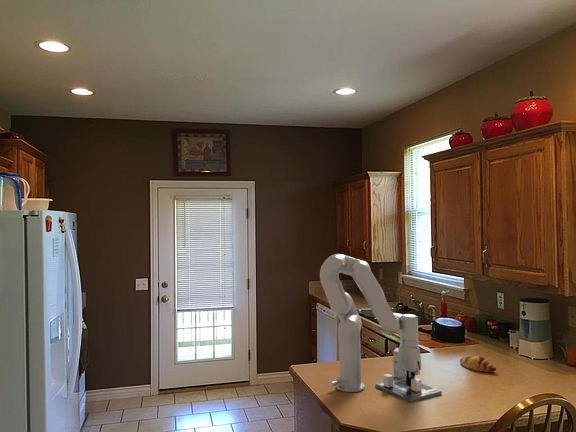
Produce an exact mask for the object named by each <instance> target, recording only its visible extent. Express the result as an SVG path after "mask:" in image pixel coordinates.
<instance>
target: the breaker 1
mask: <svg viewBox="0 0 576 432" xmlns="http://www.w3.org/2000/svg"><path fill="white" fill-rule="evenodd" d="M382 376H383V381H382V382H383V385H384V386H386V387H392V386H393V380H394V375H392V374H390V373H386V374H383V375H382Z"/></svg>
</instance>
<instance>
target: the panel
mask: <svg viewBox="0 0 576 432" xmlns="http://www.w3.org/2000/svg"><path fill="white" fill-rule="evenodd" d="M374 387H375V388H376V389H379V390H381V391H383V392H386V393H387V394H390V395H392V396H393V397H397V398H399V399H400V400H402V401H405V402H407V403H410V404H411V403H415V402H418V401H423V400H426V399H430V398H434V397H437V396H442V390H440V389H438V388H435V387H433V386H429V385H428V384H427V385H426V384H424V383H422V391H418V392H416V391H413V390H411V386H410V387H409V386H406V377H403V378H395V379H394V378H393V386H392V387H386V386H384V385H383V381H381V382H376V383H375V384H374Z"/></svg>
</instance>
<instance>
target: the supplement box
mask: <svg viewBox="0 0 576 432" xmlns="http://www.w3.org/2000/svg"><path fill="white" fill-rule="evenodd" d="M398 351H399V347H396V348H395V349H394V350H393V351H392V352H393V355H392V357H393V378H397V379H399V378H403V377H406V376H405V373H404V371H403V370H402V369H401V368H400V367H399V366H398Z"/></svg>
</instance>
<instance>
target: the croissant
mask: <svg viewBox="0 0 576 432" xmlns="http://www.w3.org/2000/svg"><path fill="white" fill-rule="evenodd" d="M459 363H460V364H461V365H462V366H464V367H465V368H467V369H468V370H471V371H475V370H476V371H475V372H483V371H484V373H493V372H495V371H496V370H497V367H496V366H493V364H491V363H490V362H489V360H486V359H485V357H484V356H482V355H476V356H466V357H461V358H460V359H459Z"/></svg>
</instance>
